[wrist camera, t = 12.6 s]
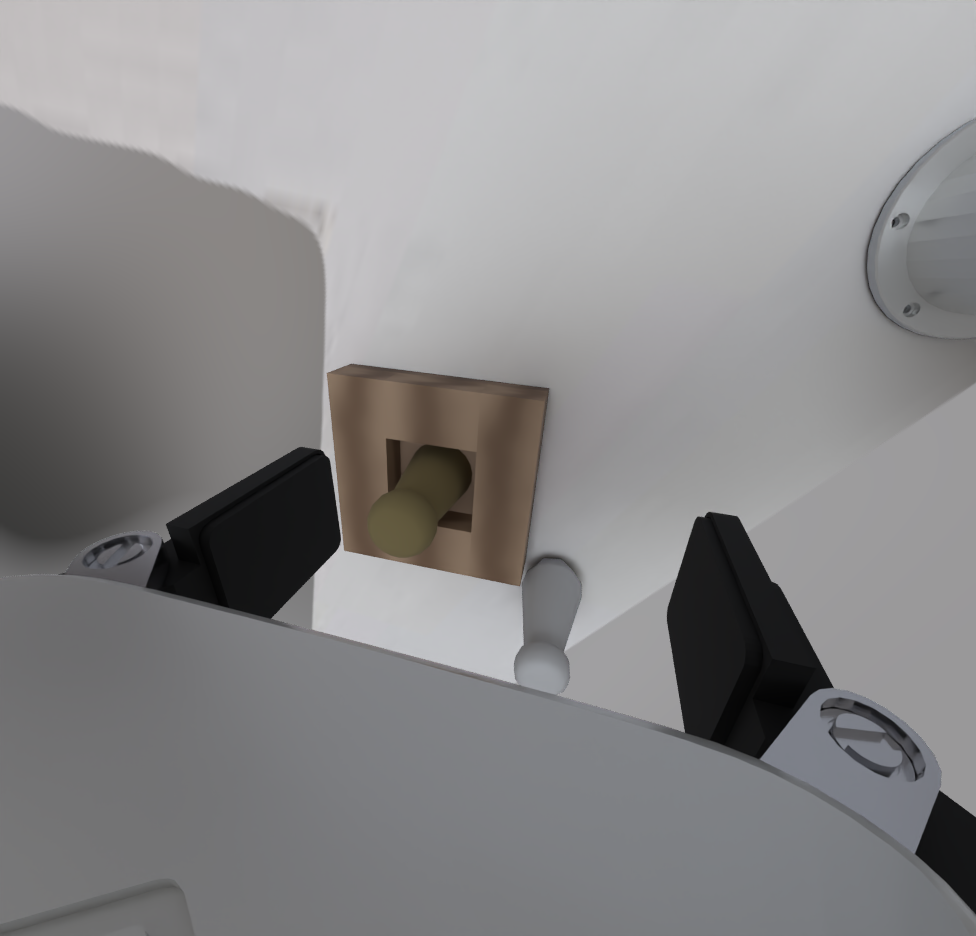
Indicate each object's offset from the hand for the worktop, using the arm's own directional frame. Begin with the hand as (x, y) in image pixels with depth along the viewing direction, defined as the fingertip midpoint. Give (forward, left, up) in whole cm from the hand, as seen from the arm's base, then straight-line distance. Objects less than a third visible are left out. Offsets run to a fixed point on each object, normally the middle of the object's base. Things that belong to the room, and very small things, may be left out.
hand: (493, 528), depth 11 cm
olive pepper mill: (+9, +12, -25) cm, 29 cm away
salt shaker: (-3, +22, -26) cm, 34 cm away
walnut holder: (+9, +12, -26) cm, 30 cm away
